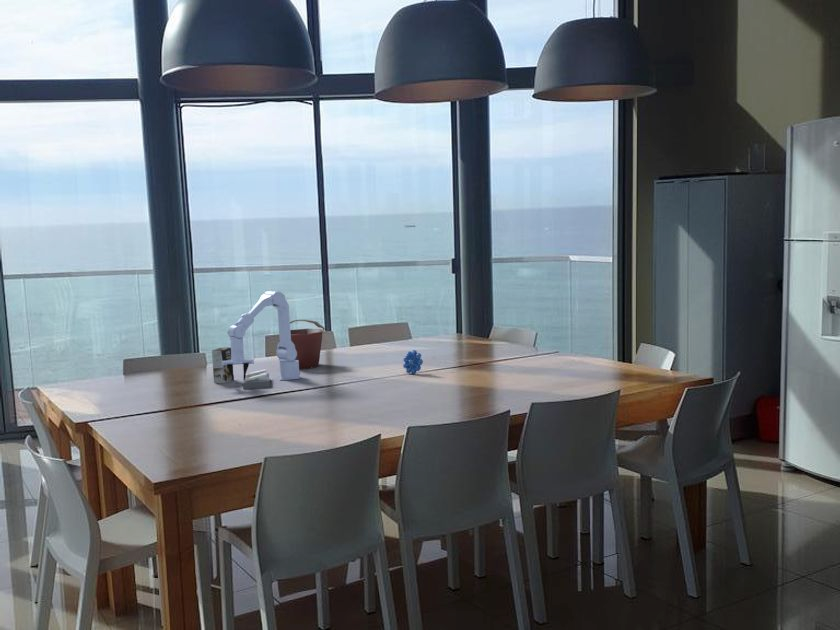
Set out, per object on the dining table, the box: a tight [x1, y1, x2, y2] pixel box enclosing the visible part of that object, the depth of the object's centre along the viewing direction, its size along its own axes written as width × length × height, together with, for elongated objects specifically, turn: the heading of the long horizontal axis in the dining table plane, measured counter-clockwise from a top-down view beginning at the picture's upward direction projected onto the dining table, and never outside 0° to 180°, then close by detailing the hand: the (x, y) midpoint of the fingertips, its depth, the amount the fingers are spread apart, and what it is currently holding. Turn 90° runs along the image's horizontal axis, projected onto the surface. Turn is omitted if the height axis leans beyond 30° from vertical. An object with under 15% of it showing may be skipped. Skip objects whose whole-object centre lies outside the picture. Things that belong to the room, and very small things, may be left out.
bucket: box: [290, 318, 325, 370], centre depth 439 cm, size 24×22×25 cm
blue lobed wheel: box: [402, 349, 424, 375], centre depth 408 cm, size 12×7×12 cm, turn 55°
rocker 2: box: [245, 372, 267, 381], centre depth 391 cm, size 10×3×1 cm, turn 100°
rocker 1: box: [246, 368, 267, 377], centre depth 402 cm, size 10×3×1 cm, turn 100°
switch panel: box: [242, 372, 271, 390], centre depth 397 cm, size 12×20×3 cm, turn 11°
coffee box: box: [211, 347, 233, 384], centre depth 407 cm, size 9×6×16 cm
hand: (238, 379), depth 390 cm, fingers open, 5 cm apart
